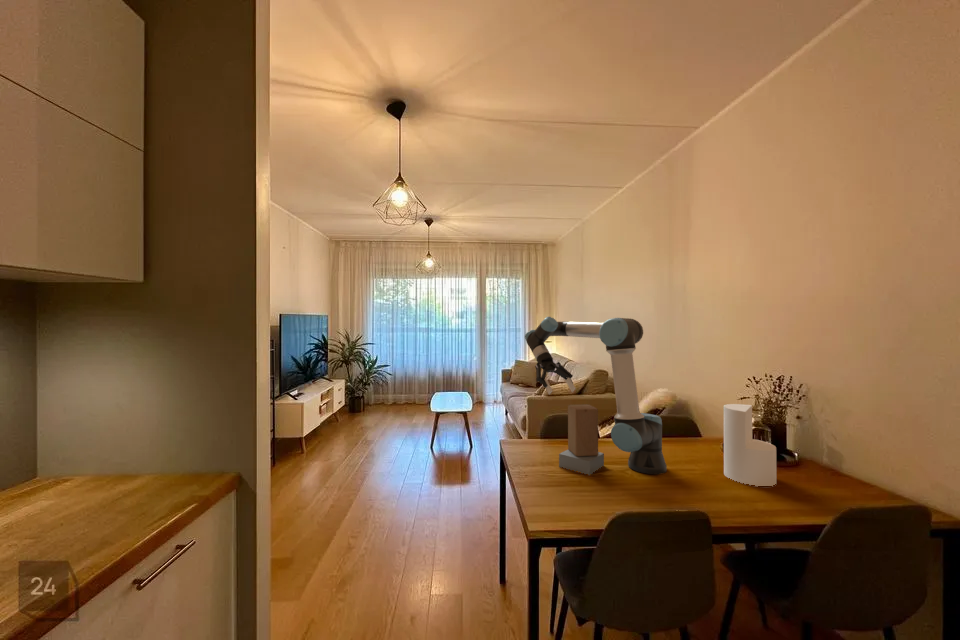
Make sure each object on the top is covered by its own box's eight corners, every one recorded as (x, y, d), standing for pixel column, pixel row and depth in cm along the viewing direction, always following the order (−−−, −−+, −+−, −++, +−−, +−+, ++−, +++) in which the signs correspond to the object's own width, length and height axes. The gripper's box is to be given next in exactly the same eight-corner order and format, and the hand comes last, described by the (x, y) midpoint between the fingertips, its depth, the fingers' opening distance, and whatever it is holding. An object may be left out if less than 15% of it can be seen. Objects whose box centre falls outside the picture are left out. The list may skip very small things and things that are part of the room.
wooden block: (598, 455, 160) (598, 408, 160) (576, 456, 158) (575, 409, 159) (589, 448, 169) (588, 404, 170) (567, 449, 168) (567, 404, 169)
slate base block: (603, 467, 164) (603, 453, 164) (589, 476, 153) (589, 461, 153) (574, 459, 173) (574, 446, 173) (559, 467, 162) (559, 453, 163)
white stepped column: (719, 478, 151) (719, 408, 152) (728, 466, 164) (727, 402, 164) (774, 491, 139) (773, 415, 140) (778, 477, 152) (778, 408, 153)
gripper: (559, 360, 195) (579, 394, 182) (518, 362, 184) (537, 398, 170) (566, 350, 191) (586, 384, 177) (525, 352, 179) (544, 388, 165)
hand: (562, 391), depth 174 cm, fingers open, 13 cm apart
